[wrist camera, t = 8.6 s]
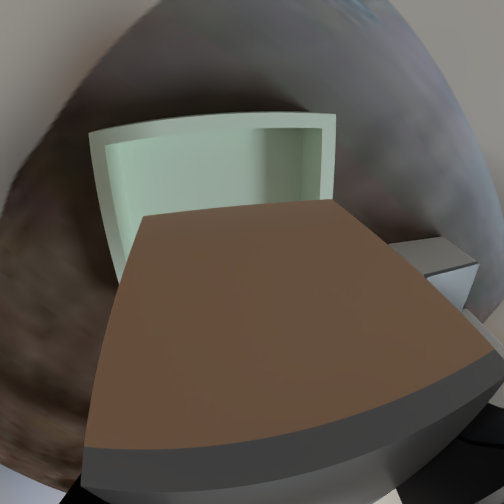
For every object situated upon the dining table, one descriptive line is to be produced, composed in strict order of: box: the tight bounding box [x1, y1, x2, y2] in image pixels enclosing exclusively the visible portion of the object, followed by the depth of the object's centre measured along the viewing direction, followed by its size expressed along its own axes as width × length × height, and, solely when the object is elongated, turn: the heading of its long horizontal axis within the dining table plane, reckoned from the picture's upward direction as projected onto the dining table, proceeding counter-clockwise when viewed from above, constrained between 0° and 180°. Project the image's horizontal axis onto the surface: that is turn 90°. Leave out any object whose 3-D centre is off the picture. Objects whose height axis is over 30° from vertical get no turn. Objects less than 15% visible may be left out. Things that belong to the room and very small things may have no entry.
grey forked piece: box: [389, 237, 479, 312], centre depth 25 cm, size 16×20×5 cm
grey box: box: [81, 199, 504, 504], centre depth 7 cm, size 6×8×7 cm
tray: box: [88, 111, 336, 284], centre depth 17 cm, size 13×13×4 cm
